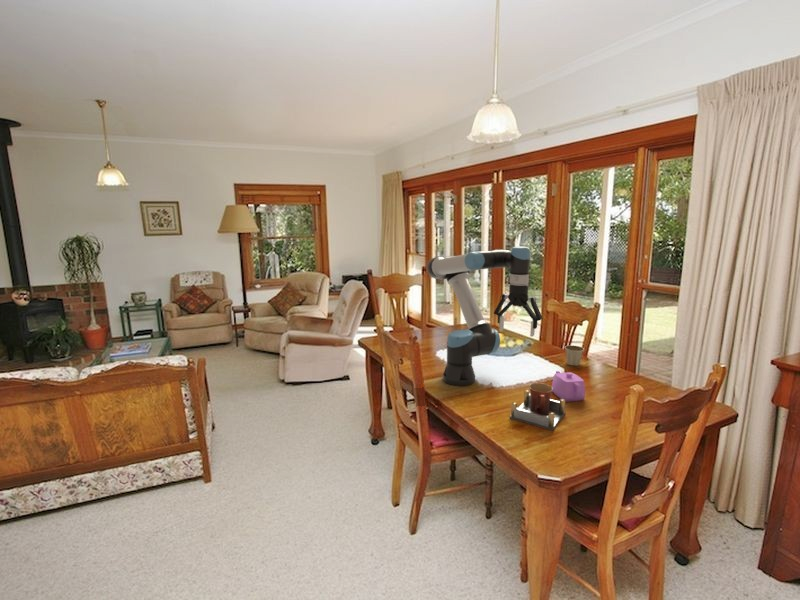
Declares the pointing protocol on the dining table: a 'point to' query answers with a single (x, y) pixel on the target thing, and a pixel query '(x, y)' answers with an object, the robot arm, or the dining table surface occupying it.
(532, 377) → the dining table surface
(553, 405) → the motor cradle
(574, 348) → the flower pot
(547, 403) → the mug
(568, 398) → the teapot
